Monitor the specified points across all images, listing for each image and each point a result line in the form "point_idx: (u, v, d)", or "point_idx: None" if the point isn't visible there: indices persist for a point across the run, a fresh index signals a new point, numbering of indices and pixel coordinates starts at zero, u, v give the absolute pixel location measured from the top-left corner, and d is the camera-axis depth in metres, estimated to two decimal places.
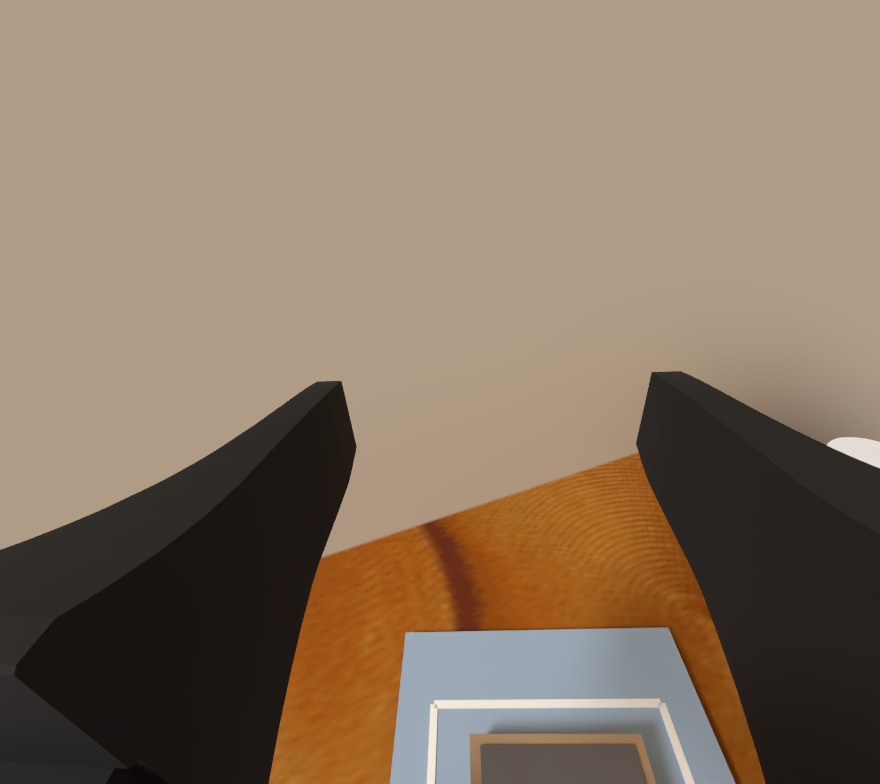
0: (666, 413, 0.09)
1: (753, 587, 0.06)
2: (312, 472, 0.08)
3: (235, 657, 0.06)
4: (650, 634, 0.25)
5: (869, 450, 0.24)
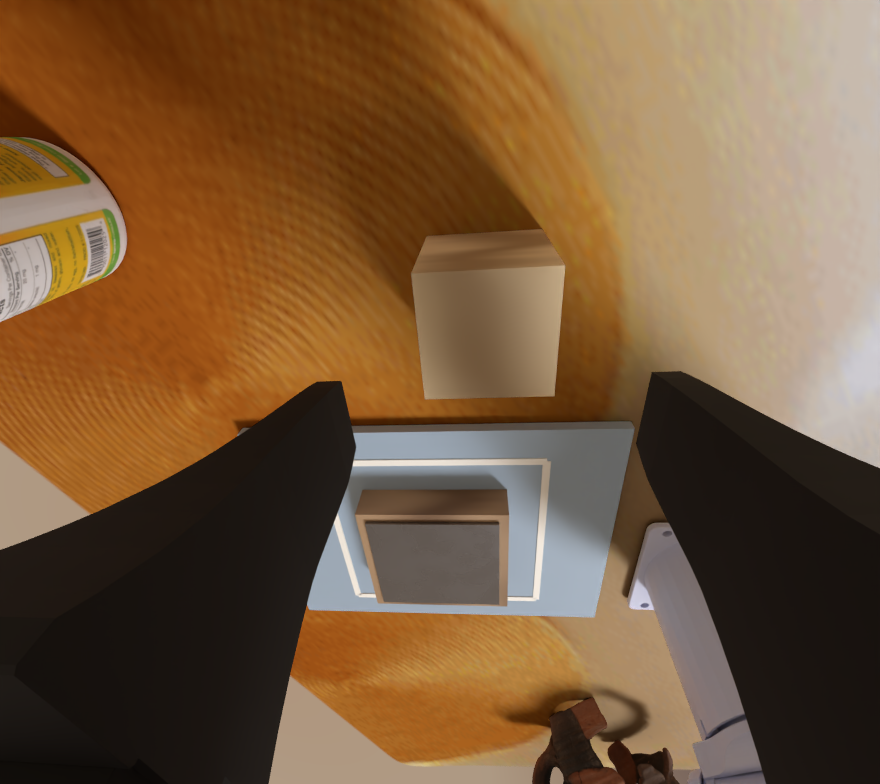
0: (666, 413, 0.09)
1: (753, 587, 0.06)
2: (312, 472, 0.08)
3: (235, 657, 0.06)
4: None
5: None
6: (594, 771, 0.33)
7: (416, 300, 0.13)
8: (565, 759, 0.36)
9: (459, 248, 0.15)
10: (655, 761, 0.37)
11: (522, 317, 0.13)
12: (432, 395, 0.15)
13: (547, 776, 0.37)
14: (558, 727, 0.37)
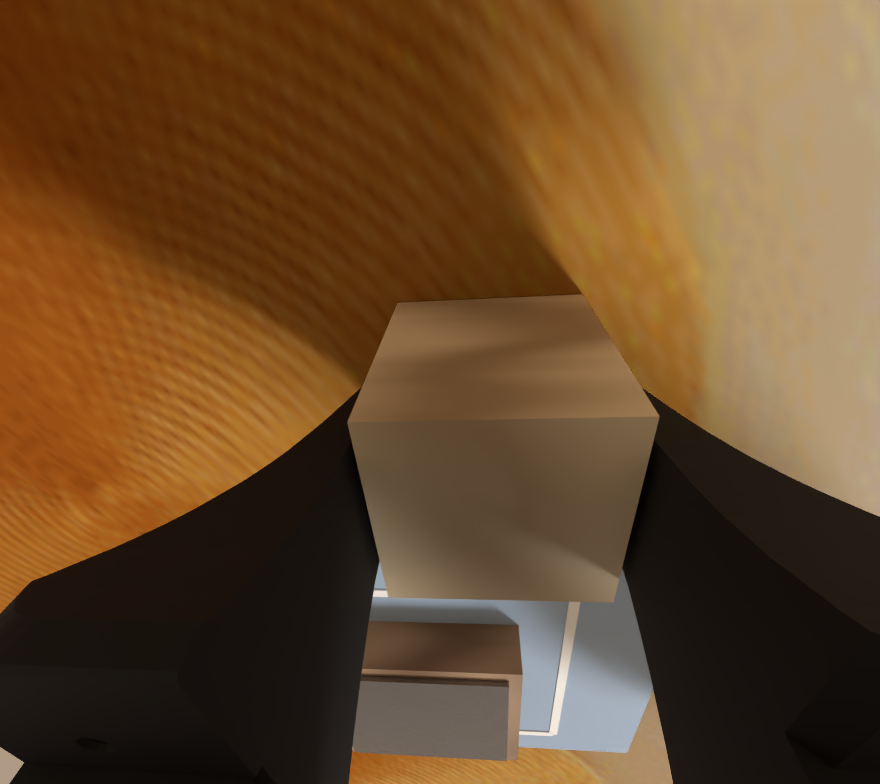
0: None
1: (662, 586, 0.06)
2: None
3: (324, 660, 0.06)
4: None
5: None
6: None
7: (361, 464, 0.07)
8: None
9: (446, 342, 0.08)
10: None
11: (564, 495, 0.07)
12: (401, 593, 0.09)
13: None
14: None
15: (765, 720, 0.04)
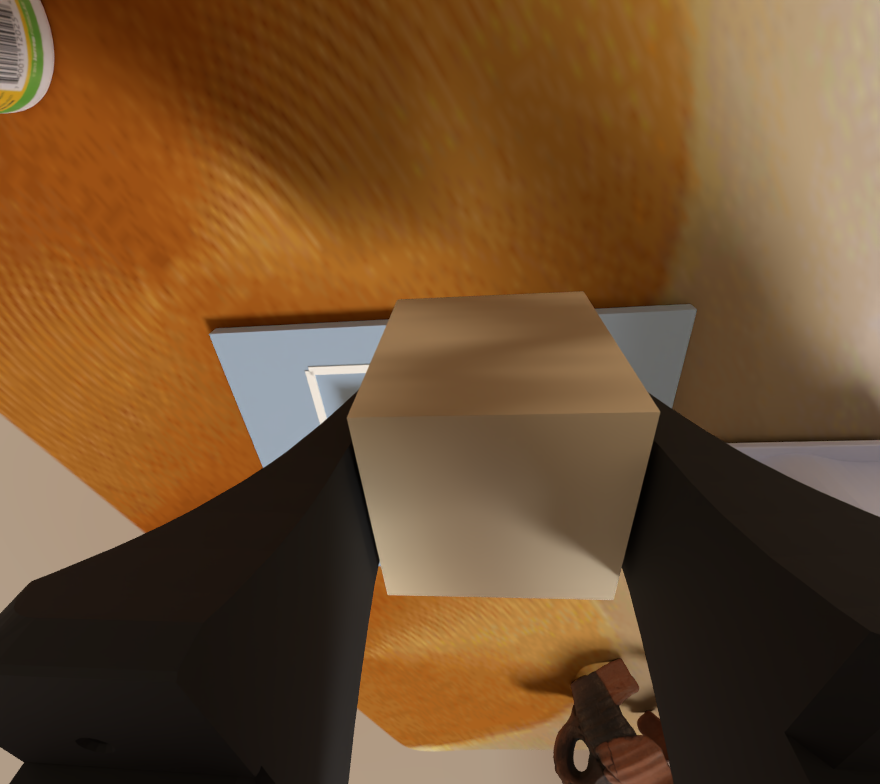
0: None
1: (662, 585, 0.06)
2: None
3: (324, 660, 0.06)
4: (227, 358, 0.19)
5: None
6: (626, 740, 0.29)
7: (361, 460, 0.07)
8: (591, 729, 0.31)
9: (446, 339, 0.08)
10: None
11: (565, 492, 0.07)
12: (400, 590, 0.09)
13: (570, 750, 0.33)
14: (582, 693, 0.32)
15: (765, 719, 0.04)
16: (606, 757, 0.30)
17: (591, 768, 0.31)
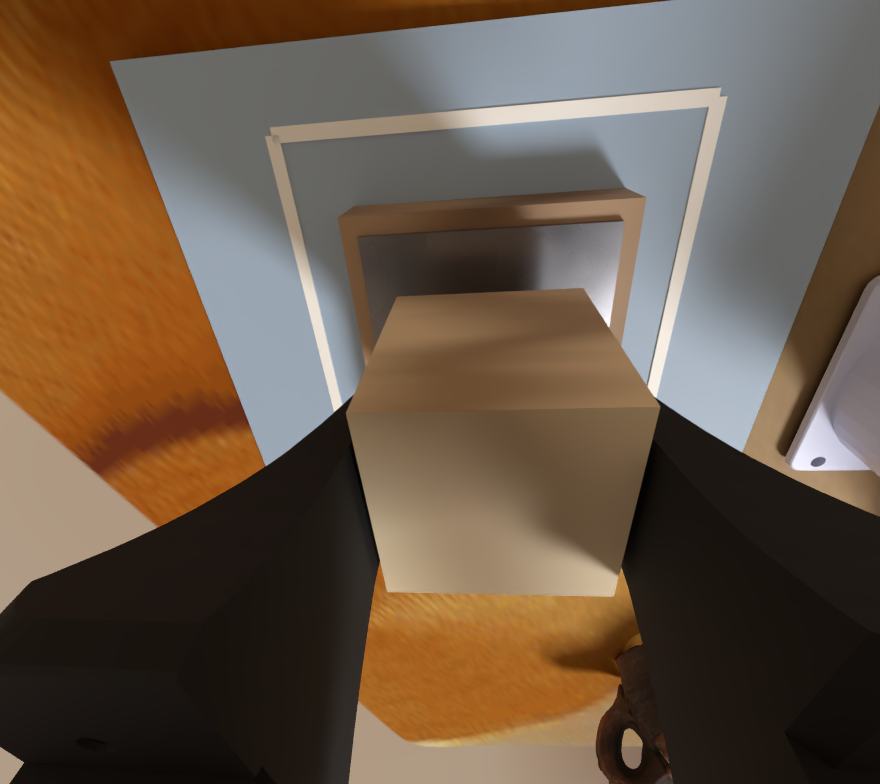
0: None
1: (662, 585, 0.06)
2: None
3: (324, 660, 0.06)
4: (143, 112, 0.12)
5: None
6: None
7: (360, 455, 0.07)
8: (648, 713, 0.24)
9: (445, 334, 0.08)
10: None
11: (565, 488, 0.07)
12: (400, 587, 0.09)
13: (618, 741, 0.25)
14: (634, 668, 0.25)
15: (765, 720, 0.04)
16: None
17: (648, 764, 0.24)
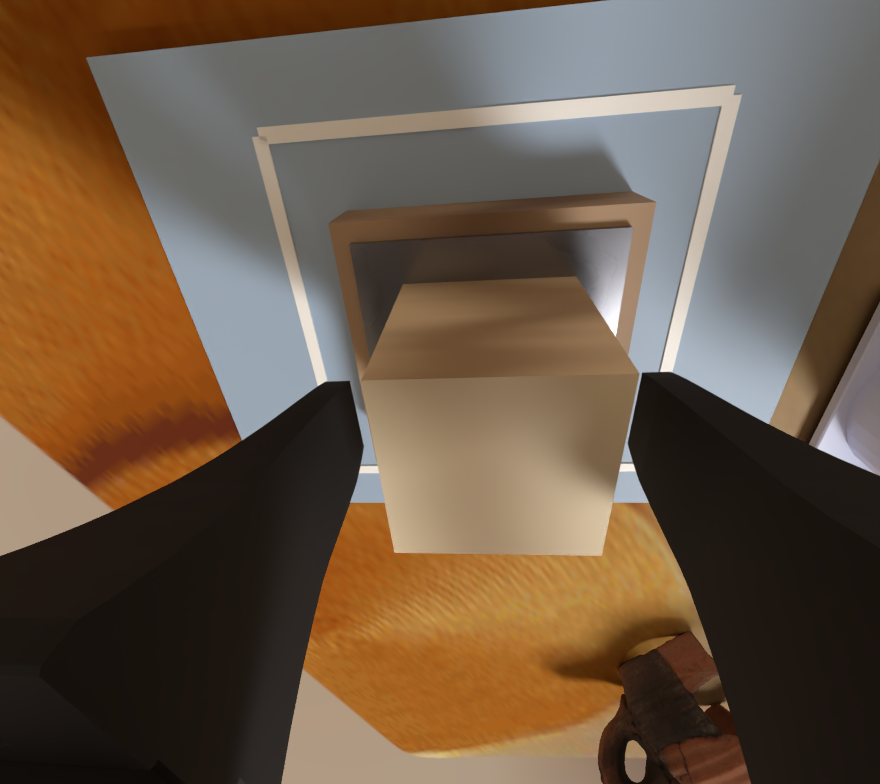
0: (656, 413, 0.09)
1: (738, 587, 0.06)
2: (322, 471, 0.08)
3: (249, 657, 0.06)
4: (122, 112, 0.11)
5: None
6: (707, 741, 0.21)
7: (373, 420, 0.08)
8: (652, 726, 0.23)
9: (449, 317, 0.09)
10: None
11: (556, 450, 0.08)
12: (406, 548, 0.09)
13: (621, 754, 0.24)
14: (637, 678, 0.24)
15: None
16: (677, 764, 0.22)
17: (652, 779, 0.23)
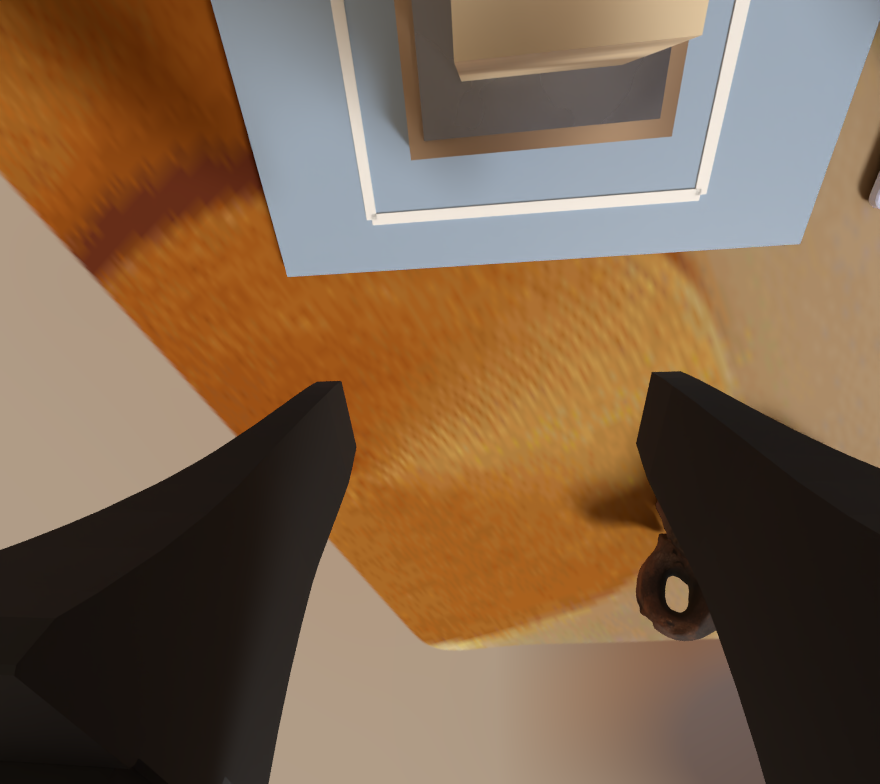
0: (666, 413, 0.09)
1: (753, 587, 0.06)
2: (312, 472, 0.08)
3: (235, 657, 0.06)
4: None
5: None
6: None
7: None
8: None
9: None
10: None
11: None
12: (468, 50, 0.08)
13: (662, 585, 0.23)
14: None
15: None
16: None
17: (698, 600, 0.21)
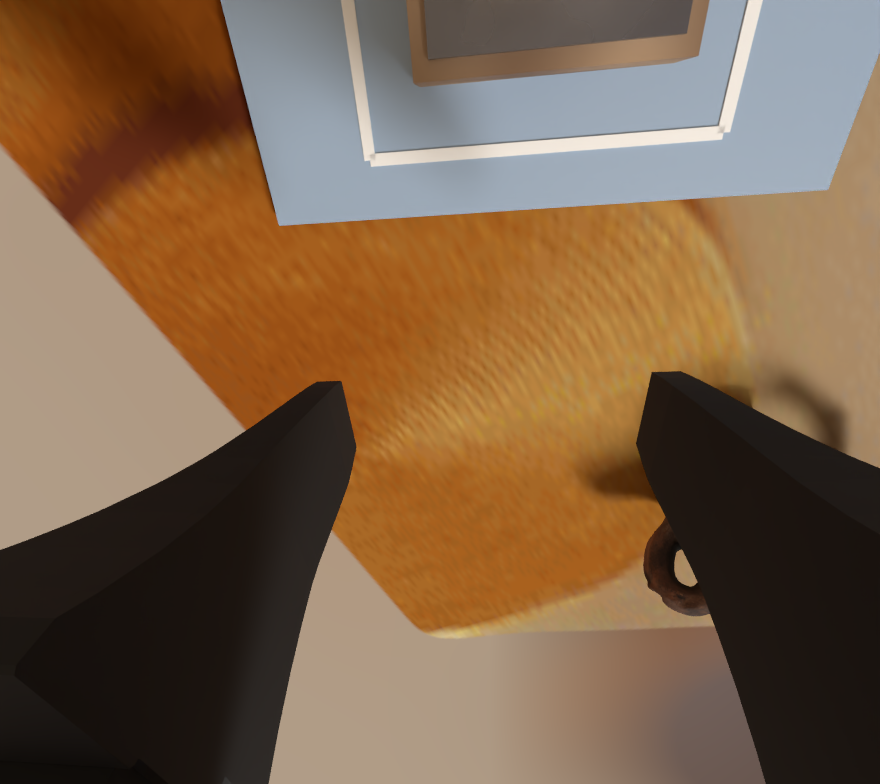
0: (666, 413, 0.09)
1: (753, 587, 0.06)
2: (312, 472, 0.08)
3: (235, 657, 0.06)
4: None
5: None
6: None
7: None
8: None
9: None
10: None
11: None
12: None
13: (671, 558, 0.21)
14: None
15: None
16: None
17: None
